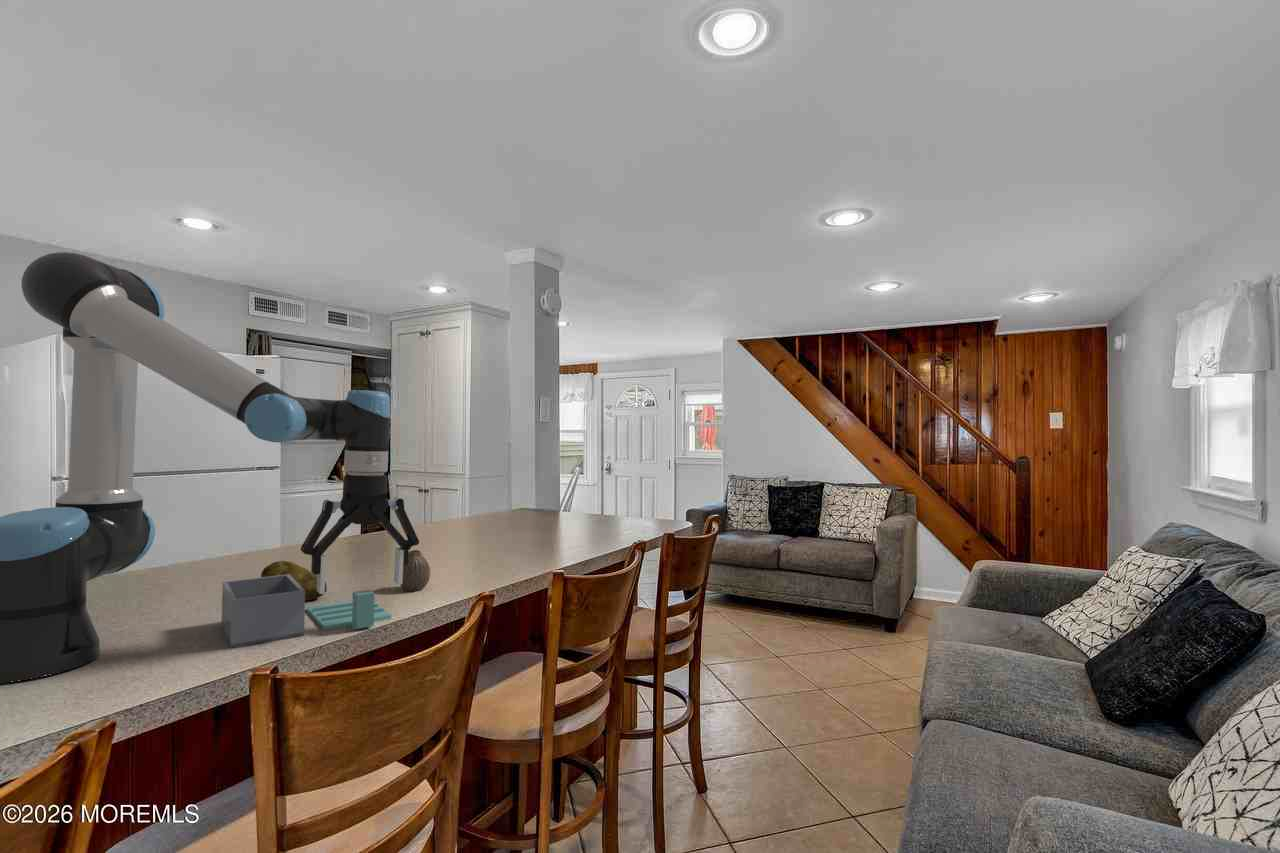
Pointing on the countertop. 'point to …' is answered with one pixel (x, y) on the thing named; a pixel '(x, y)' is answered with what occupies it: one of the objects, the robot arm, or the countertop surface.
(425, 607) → the countertop surface
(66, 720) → the countertop surface
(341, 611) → the lid
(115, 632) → the countertop surface
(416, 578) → the vase
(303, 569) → the potato
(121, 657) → the countertop surface
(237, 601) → the tub
